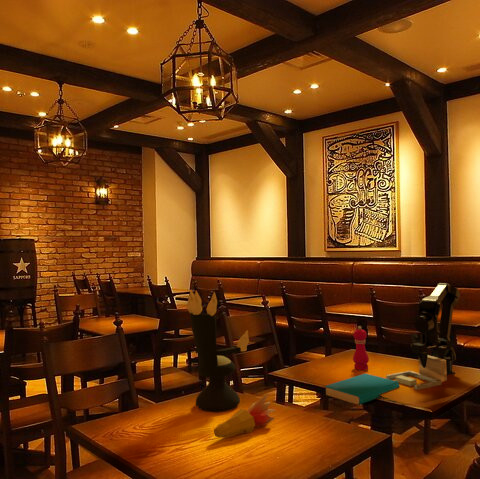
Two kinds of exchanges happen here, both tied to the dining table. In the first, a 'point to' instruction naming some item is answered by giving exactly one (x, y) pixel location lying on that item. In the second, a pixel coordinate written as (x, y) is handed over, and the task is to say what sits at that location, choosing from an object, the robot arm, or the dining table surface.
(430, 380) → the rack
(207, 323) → the candelabra
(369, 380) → the book
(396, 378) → the offcut top
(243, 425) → the torch
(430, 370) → the sheet
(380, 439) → the dining table surface
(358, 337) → the pepper mill
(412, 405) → the dining table surface
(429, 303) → the robot arm
